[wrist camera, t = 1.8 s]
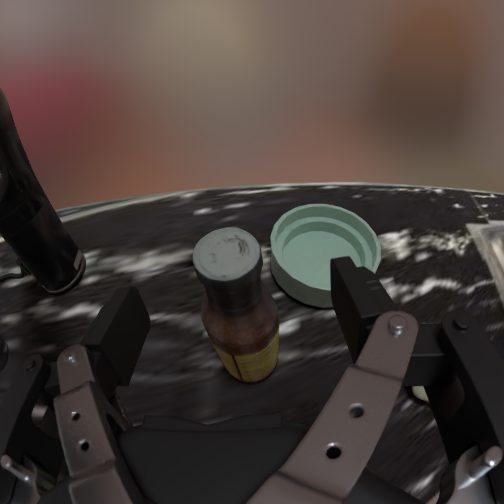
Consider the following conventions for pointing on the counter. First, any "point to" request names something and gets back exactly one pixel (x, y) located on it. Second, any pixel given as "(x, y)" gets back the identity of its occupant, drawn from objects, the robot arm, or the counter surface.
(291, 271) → the bowl
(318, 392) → the counter surface
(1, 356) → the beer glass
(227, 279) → the sauce bottle
